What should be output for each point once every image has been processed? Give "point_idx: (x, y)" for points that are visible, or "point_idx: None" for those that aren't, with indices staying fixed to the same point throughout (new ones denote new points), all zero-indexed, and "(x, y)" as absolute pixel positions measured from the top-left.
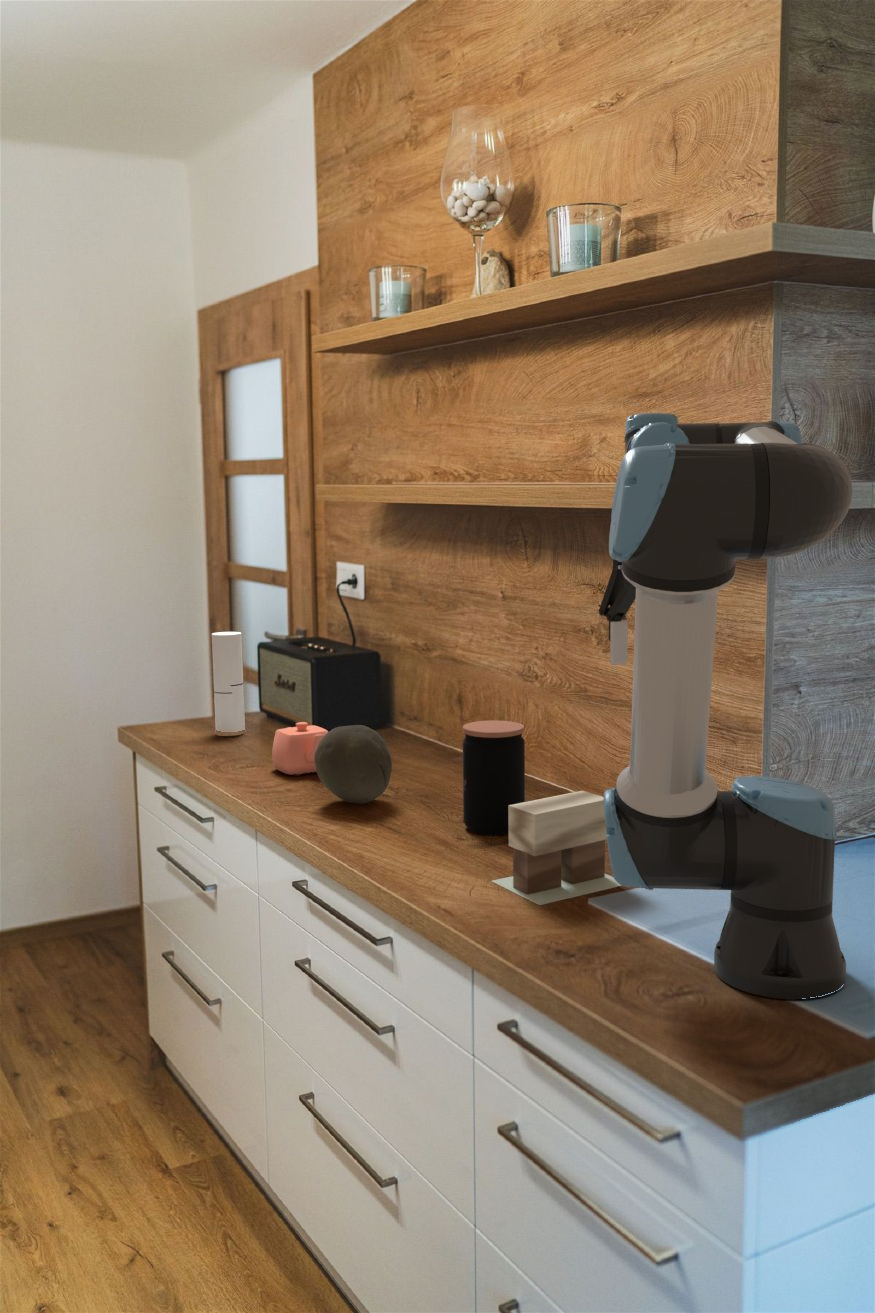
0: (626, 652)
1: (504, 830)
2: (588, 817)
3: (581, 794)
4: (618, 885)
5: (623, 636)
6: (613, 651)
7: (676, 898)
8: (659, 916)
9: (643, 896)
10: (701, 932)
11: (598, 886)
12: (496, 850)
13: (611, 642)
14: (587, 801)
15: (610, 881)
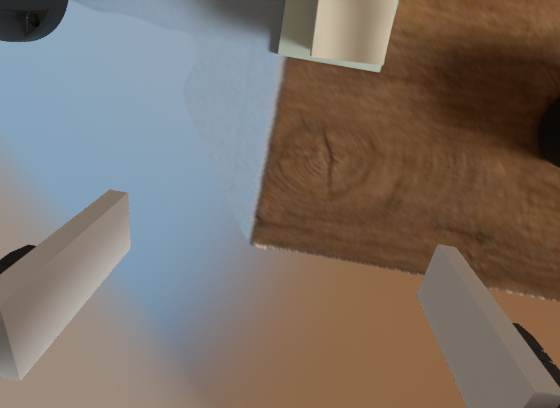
0: (430, 320)
1: (550, 109)
2: (317, 3)
3: (367, 41)
4: (281, 38)
5: (463, 362)
6: (459, 276)
7: (227, 80)
8: (198, 12)
9: (256, 55)
10: (134, 8)
11: (296, 13)
12: (519, 48)
13: (490, 303)
14: (328, 9)
15: (299, 43)
